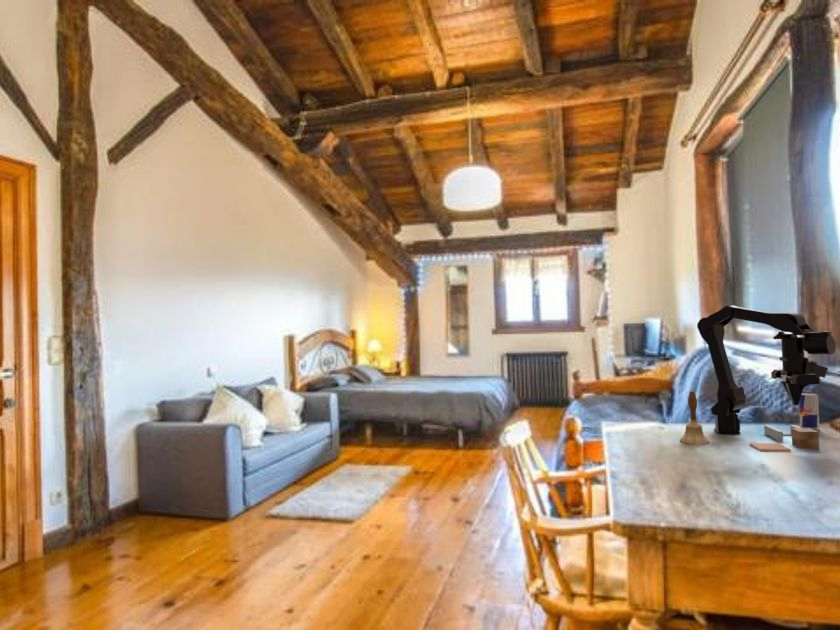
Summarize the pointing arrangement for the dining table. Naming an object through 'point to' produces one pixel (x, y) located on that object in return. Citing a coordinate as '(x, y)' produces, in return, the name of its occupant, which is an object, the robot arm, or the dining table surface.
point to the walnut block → (805, 438)
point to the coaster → (770, 447)
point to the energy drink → (809, 411)
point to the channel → (777, 432)
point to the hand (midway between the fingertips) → (795, 404)
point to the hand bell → (693, 425)
